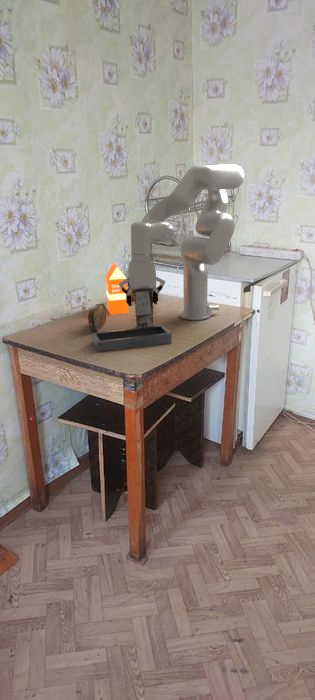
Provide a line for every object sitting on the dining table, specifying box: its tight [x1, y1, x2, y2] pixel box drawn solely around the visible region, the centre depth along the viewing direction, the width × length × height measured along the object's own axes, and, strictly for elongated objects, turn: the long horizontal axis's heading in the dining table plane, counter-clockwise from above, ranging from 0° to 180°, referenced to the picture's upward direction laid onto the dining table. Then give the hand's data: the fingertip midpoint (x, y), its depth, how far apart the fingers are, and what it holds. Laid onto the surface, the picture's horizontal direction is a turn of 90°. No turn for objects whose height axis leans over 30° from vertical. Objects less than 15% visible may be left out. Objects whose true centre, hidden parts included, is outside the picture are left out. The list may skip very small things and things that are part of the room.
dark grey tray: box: [91, 324, 173, 353], centre depth 181 cm, size 26×10×4 cm, turn 107°
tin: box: [87, 303, 107, 332], centre depth 198 cm, size 15×3×8 cm, turn 168°
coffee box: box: [134, 289, 154, 328], centre depth 192 cm, size 9×6×16 cm
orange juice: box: [105, 262, 129, 315], centre depth 216 cm, size 8×9×20 cm
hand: (142, 304), depth 191 cm, fingers open, 9 cm apart
